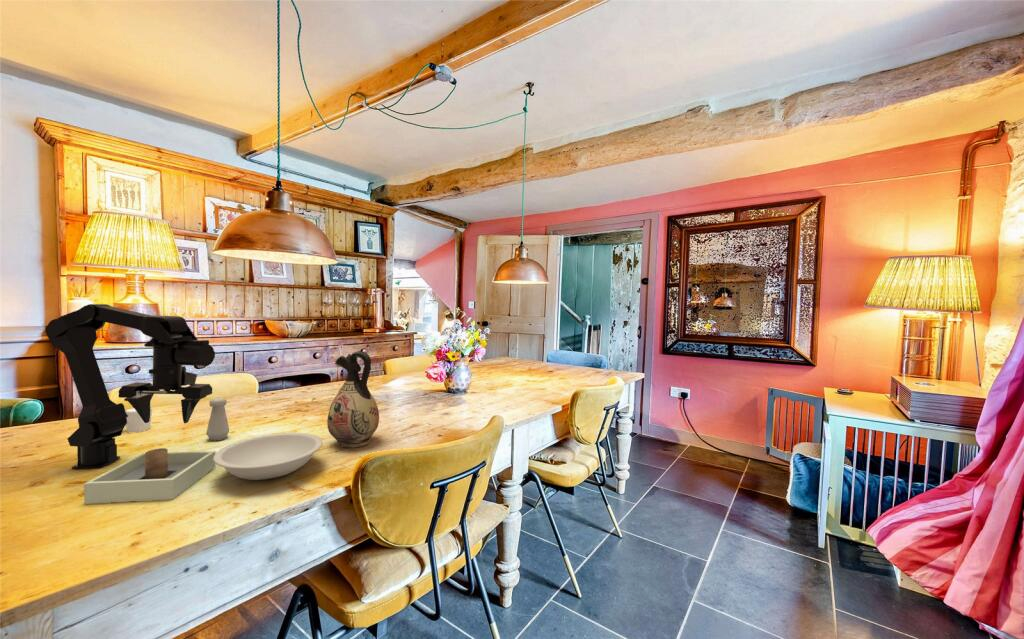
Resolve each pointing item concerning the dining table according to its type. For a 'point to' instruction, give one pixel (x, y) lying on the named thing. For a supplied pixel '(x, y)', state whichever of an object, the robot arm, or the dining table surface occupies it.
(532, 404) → the dining table surface
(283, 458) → the soup bowl
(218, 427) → the salt shaker
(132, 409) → the white cube
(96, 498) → the tray
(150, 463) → the peg
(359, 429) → the ceramic jug
